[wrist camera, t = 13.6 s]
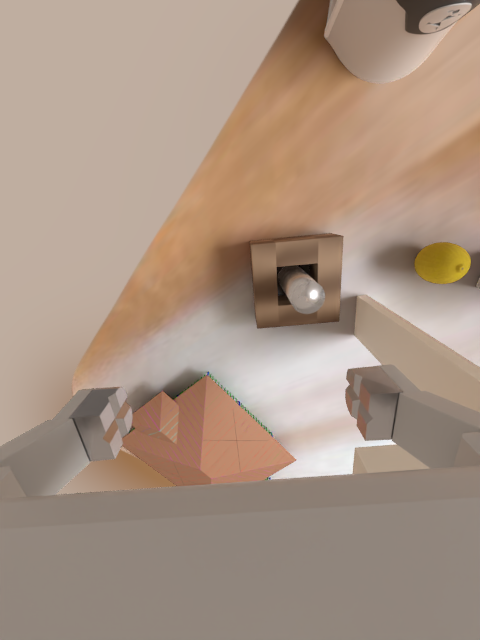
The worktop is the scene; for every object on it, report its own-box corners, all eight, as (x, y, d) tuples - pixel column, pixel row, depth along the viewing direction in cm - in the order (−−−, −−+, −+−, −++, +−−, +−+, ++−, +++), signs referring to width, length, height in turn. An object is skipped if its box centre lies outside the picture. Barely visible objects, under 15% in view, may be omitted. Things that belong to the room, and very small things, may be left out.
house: (198, 354, 47) (190, 381, 40) (305, 458, 57) (316, 496, 49) (113, 420, 53) (92, 455, 45) (224, 506, 62) (222, 546, 55)
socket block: (249, 241, 40) (251, 244, 35) (330, 233, 39) (343, 236, 35) (255, 316, 44) (257, 328, 40) (328, 309, 44) (339, 321, 39)
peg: (277, 265, 41) (290, 283, 31) (303, 263, 41) (325, 280, 31) (278, 290, 43) (291, 315, 32) (303, 288, 43) (324, 312, 32)
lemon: (413, 236, 40) (453, 241, 32) (447, 244, 40) (495, 251, 33) (397, 272, 42) (432, 285, 34) (430, 279, 42) (471, 294, 35)
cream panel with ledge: (285, 302, 43) (370, 462, 16) (366, 294, 43) (602, 446, 15) (287, 361, 47) (356, 572, 20) (361, 354, 47) (539, 561, 19)
